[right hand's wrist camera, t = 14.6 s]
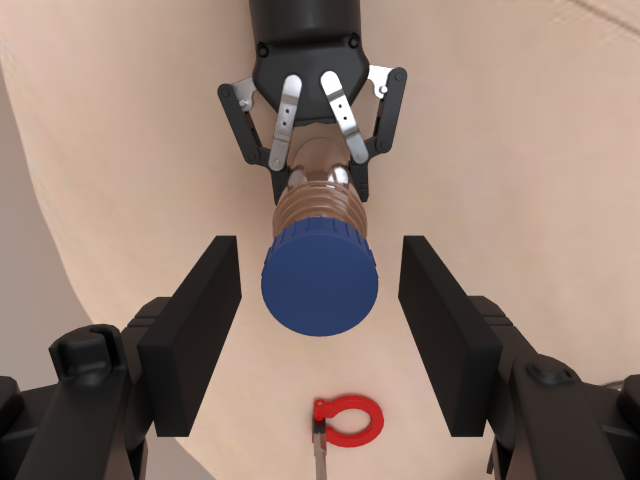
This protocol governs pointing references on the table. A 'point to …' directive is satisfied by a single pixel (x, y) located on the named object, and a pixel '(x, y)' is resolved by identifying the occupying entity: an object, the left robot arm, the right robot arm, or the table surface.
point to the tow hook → (328, 434)
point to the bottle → (320, 189)
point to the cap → (319, 277)
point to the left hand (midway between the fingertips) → (323, 209)
